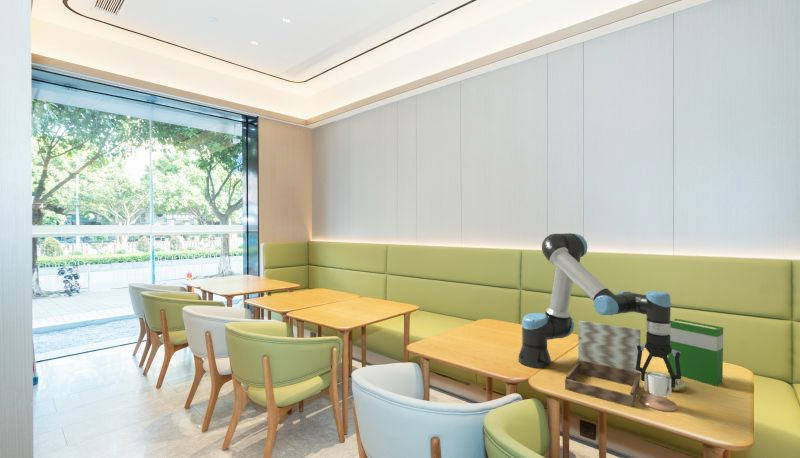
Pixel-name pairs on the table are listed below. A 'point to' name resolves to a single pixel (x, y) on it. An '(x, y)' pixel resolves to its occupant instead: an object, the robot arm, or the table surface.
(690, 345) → the hardback book
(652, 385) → the shot glass
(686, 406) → the table surface
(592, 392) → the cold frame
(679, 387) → the decorated donut
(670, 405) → the terracotta saucer
